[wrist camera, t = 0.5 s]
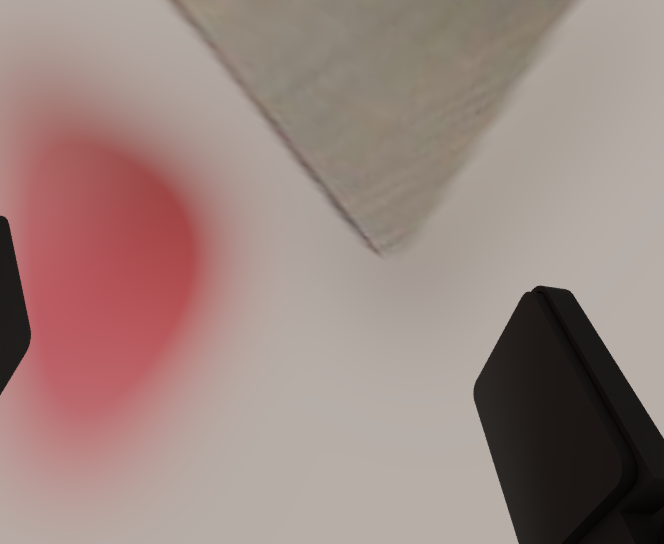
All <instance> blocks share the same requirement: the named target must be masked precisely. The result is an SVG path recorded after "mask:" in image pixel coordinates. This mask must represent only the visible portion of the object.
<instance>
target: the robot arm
mask: <svg viewBox="0 0 664 544" xmlns="http://www.w3.org/2000/svg"><path fill="white" fill-rule="evenodd" d="M30 339H31V330H30V325H29V320H28V315H27V310H26V305H25V301H24V296H23V290H22V285H21V281H20V276H19V271H18V266H17V261H16V256H15V251H14V247H13V241H12V236H11V232H10V227H9V223H8V220H7V219H6V218H5V217H3V216H0V395H1V393H2V391H3V390H4V388H5V386H6V385H7V383H8V381H9V380H10V378H11V376H12V375H13V373H14V371H15V370H16V368H17V367H18V365H19V363H20V362H21V360H22V358H23V357H24V355H25V353H26V351H27V349H28V347H29V344H30ZM474 401H475V404H476V407H477V411H478V414H479V417H480V420H481V423H482V427H483V430H484V433H485V436H486V440H487V443H488V446H489V449H490V453H491V455H492V459H493V462H494V465H495V469H496V472H497V475H498V478H499V481H500V485H501V488H502V491H503V494H504V497H505V501H506V503H507V507H508V510H509V513H510V517H511V520H512V523H513V526H514V529H515V533H516V536H517V539H518V542H519V544H664V438H663V437H662V435H661V434H660V432H659V430H658V429H657V427H656V426H655V424H654V422H653V421H652V419H651V418H650V416H649V414H648V413H647V412H646V410H645V408H644V407H643V405H642V403H641V402H640V400H639V399H638V397H637V395H636V394H635V392H634V391H633V389H632V387H631V386H630V384H629V383H628V381H627V380H626V378H625V376H624V375H623V373H622V372H621V370H620V369H619V367H618V365H617V364H616V362H615V360H614V359H613V358H612V356H611V354H610V353H609V351H608V349H607V348H606V346H605V345H604V343H603V341H602V340H601V338H600V337H599V335H598V334H597V332H596V331H595V329H594V327H593V326H592V324H591V322H590V321H589V319H588V318H587V316H586V314H585V313H584V311H583V310H582V308H581V306H580V305H579V303H578V302H577V300H576V299H575V297H574V295H573V294H572V293H571V292H570V291H569V290H566V289H560V288H553V287H546V286H537V287H535V288H534V289H533V290H532V291H531V292H526V293H525V294H524V295H523V296H522V298H521V300H520V301H519V303H518V305H517V307H516V309H515V311H514V312H513V314H512V316H511V318H510V320H509V322H508V323H507V326H506V327H505V329H504V331H503V333H502V335H501V336H500V338H499V340H498V342H497V344H496V346H495V348H494V349H493V351H492V353H491V355H490V357H489V358H488V361H487V362H486V364H485V366H484V368H483V369H482V371H481V374H480V375H479V377H478V379H477V380H476V383H475V386H474Z"/></svg>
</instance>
